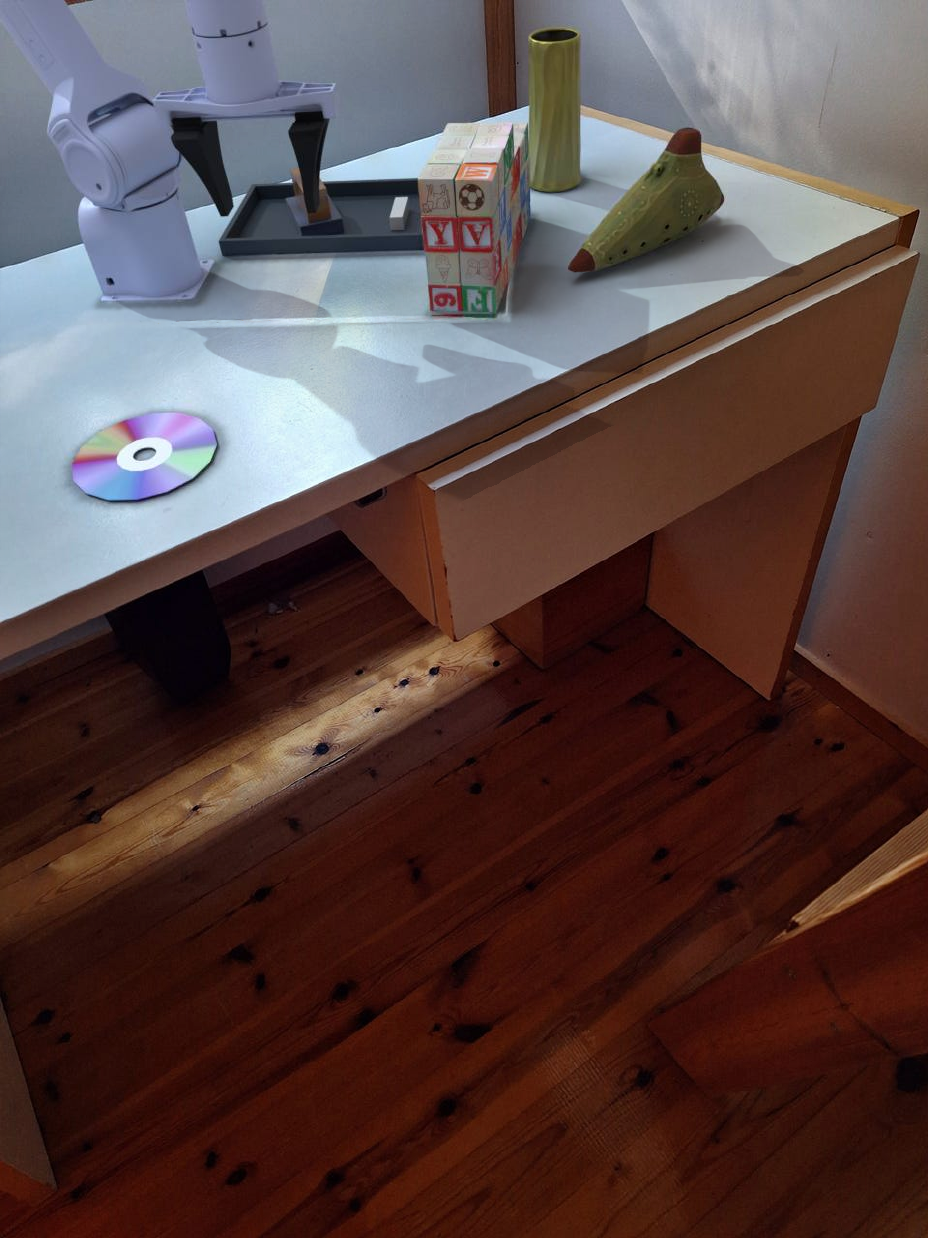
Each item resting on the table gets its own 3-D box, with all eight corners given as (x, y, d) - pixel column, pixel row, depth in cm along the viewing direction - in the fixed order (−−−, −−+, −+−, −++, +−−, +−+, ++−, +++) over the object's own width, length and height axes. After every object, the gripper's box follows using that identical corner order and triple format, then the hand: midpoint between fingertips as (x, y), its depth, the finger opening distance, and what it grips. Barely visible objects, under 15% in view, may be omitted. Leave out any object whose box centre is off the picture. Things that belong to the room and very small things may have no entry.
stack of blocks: (473, 215, 96) (466, 86, 87) (531, 216, 95) (530, 86, 86) (429, 316, 82) (415, 176, 73) (497, 319, 81) (491, 176, 72)
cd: (193, 397, 75) (193, 397, 75) (235, 467, 68) (235, 466, 68) (58, 442, 72) (58, 441, 72) (88, 520, 65) (88, 519, 65)
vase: (518, 176, 102) (515, 31, 92) (569, 166, 103) (571, 21, 93) (537, 196, 98) (536, 47, 88) (590, 186, 99) (595, 37, 89)
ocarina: (586, 293, 83) (590, 181, 76) (549, 273, 86) (549, 163, 79) (739, 226, 90) (756, 117, 83) (700, 210, 93) (713, 104, 86)
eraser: (344, 232, 94) (337, 187, 91) (302, 241, 93) (293, 196, 90) (327, 203, 99) (320, 160, 96) (287, 211, 99) (279, 168, 95)
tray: (223, 261, 93) (218, 240, 91) (256, 202, 102) (251, 183, 101) (427, 255, 90) (425, 234, 89) (441, 196, 100) (439, 176, 99)
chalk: (390, 230, 94) (389, 217, 93) (396, 210, 97) (395, 196, 96) (404, 230, 93) (402, 216, 92) (409, 209, 97) (408, 196, 96)
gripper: (333, 6, 70) (360, 187, 80) (153, 17, 71) (201, 193, 81) (316, 33, 65) (347, 222, 75) (123, 43, 66) (178, 228, 76)
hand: (270, 209), depth 78 cm, fingers open, 7 cm apart
